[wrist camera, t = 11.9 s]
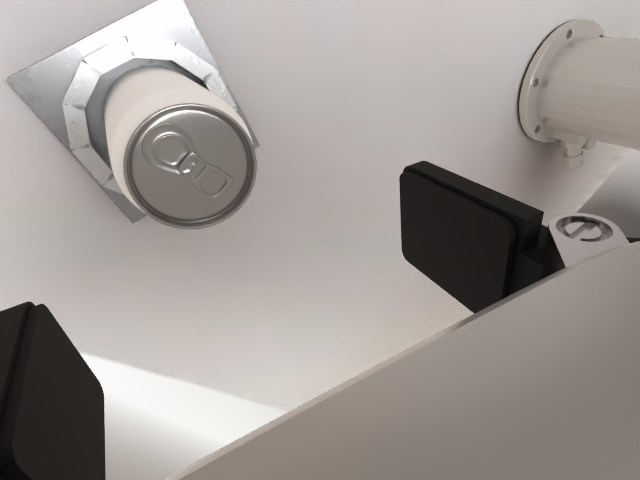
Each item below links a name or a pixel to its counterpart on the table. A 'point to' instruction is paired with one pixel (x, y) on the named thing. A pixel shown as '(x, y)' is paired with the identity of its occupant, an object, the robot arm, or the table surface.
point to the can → (177, 148)
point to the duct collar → (102, 72)
